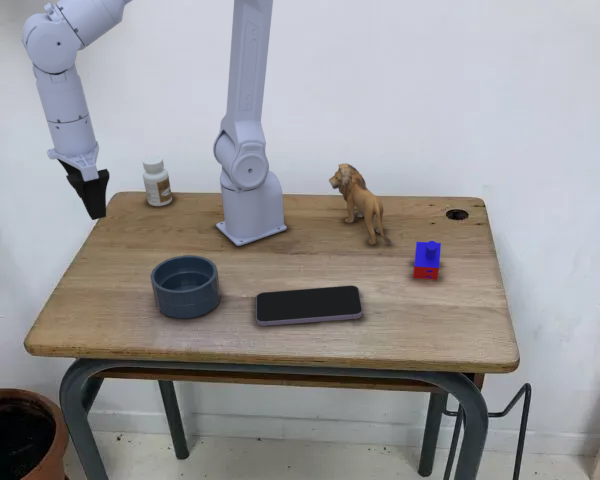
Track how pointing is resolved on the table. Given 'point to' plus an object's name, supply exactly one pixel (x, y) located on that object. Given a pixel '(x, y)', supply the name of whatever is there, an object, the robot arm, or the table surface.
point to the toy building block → (427, 260)
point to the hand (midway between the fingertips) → (92, 206)
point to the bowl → (186, 286)
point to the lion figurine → (359, 199)
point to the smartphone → (308, 305)
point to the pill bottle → (156, 181)
